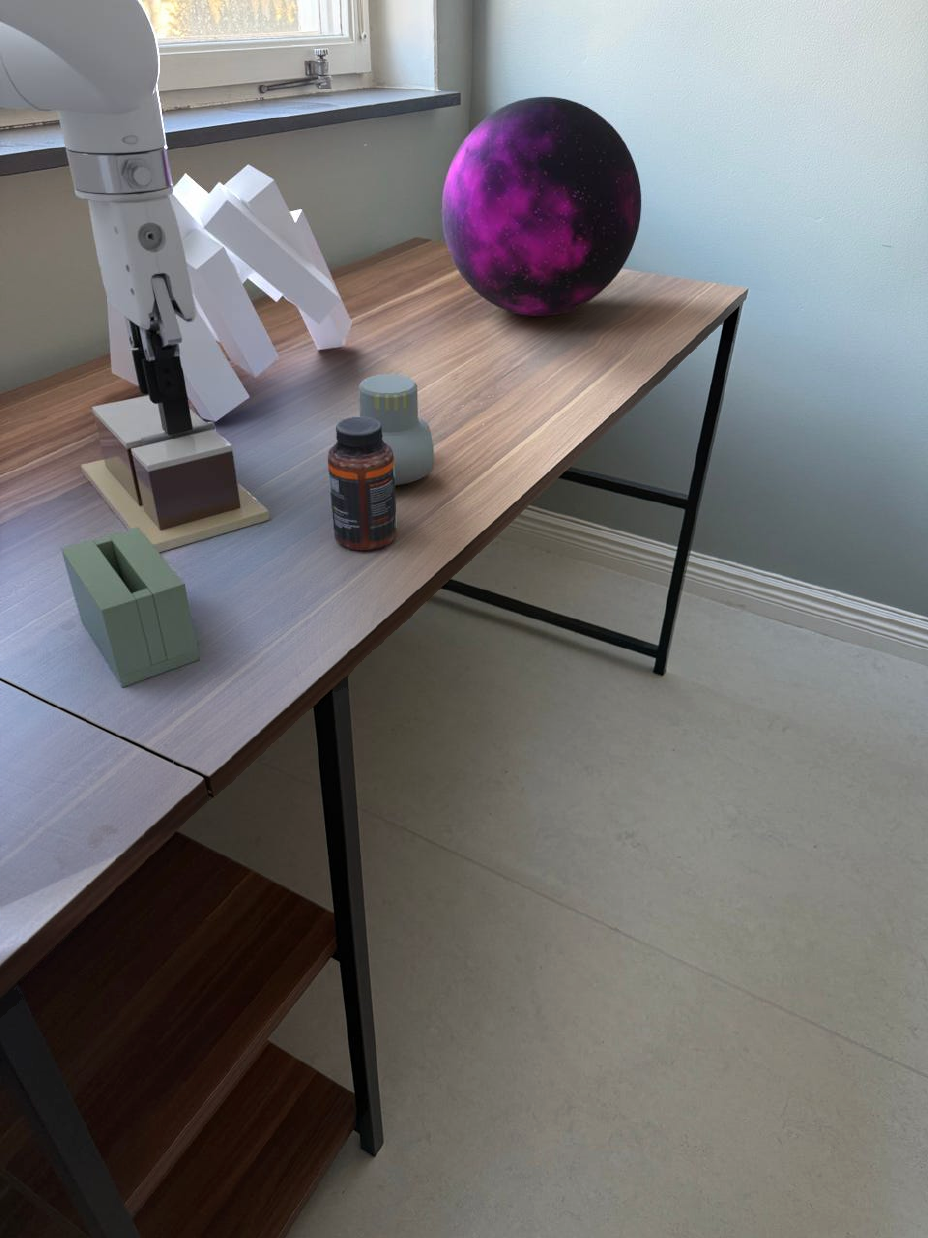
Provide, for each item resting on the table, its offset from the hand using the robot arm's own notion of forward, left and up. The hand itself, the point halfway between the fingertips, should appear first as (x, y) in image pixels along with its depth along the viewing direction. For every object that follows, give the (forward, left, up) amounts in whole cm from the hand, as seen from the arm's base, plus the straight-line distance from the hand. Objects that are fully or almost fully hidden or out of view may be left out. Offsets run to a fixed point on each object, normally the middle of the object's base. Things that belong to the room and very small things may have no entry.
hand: (163, 393), depth 81 cm
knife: (+1, 0, -11) cm, 11 cm away
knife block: (-11, -19, -12) cm, 25 cm away
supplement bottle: (+12, -15, -12) cm, 23 cm away
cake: (0, +3, -12) cm, 12 cm away
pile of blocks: (+19, +30, -12) cm, 37 cm away
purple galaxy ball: (+71, +32, -12) cm, 79 cm away
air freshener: (+21, -5, -12) cm, 25 cm away
